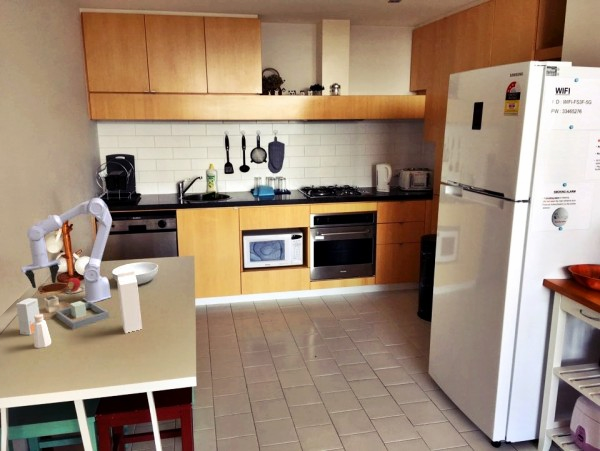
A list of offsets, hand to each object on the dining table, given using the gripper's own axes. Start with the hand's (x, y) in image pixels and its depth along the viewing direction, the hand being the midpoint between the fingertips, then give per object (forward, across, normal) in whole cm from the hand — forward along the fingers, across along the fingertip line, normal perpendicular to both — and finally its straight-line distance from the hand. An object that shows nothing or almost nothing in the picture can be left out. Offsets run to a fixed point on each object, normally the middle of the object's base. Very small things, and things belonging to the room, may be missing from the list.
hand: (44, 284), depth 198 cm
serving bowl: (+10, +40, -1) cm, 41 cm away
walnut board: (+9, -1, -9) cm, 13 cm away
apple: (+10, +15, +10) cm, 21 cm away
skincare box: (+10, -13, -22) cm, 27 cm away
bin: (+9, +5, -24) cm, 26 cm away
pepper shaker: (+10, -14, -37) cm, 41 cm away
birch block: (+8, -1, -9) cm, 12 cm away
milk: (+10, +13, -49) cm, 52 cm away
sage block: (+10, +5, -20) cm, 23 cm away
